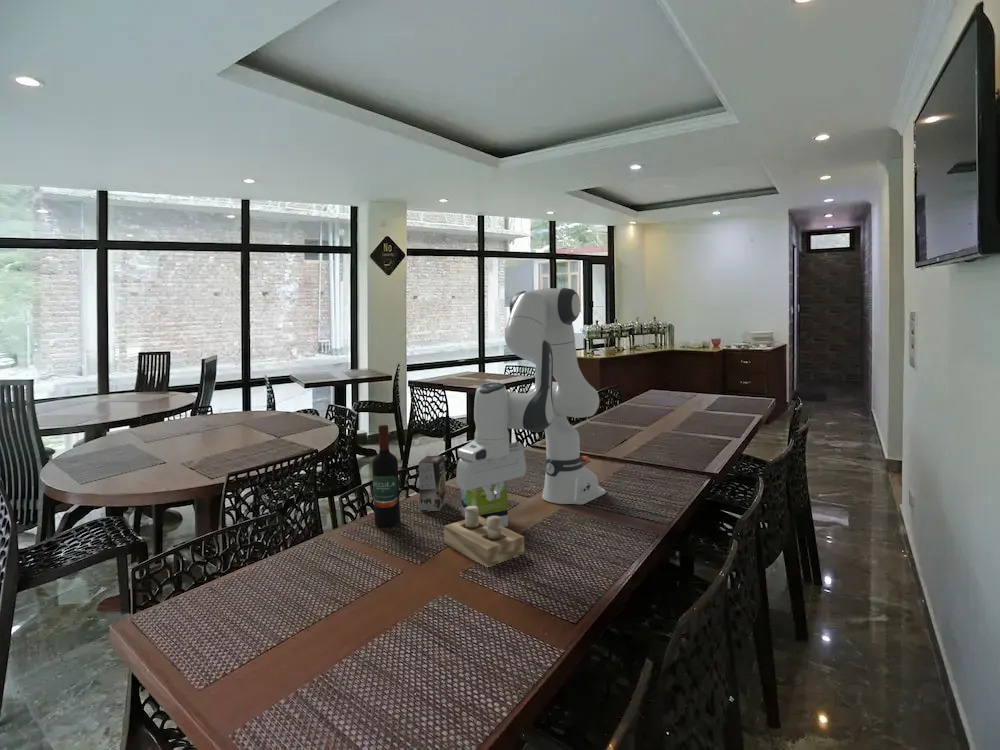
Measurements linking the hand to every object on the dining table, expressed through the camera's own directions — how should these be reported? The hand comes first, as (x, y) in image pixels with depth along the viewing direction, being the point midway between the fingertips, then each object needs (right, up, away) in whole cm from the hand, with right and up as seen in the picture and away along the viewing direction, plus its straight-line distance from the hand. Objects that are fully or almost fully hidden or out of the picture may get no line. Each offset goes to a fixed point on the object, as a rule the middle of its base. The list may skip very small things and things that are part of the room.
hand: (493, 499), depth 151 cm
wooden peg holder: (-3, -15, +6) cm, 16 cm away
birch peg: (0, -15, +2) cm, 15 cm away
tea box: (-3, -12, +26) cm, 29 cm away
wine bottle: (-32, -13, +26) cm, 43 cm away
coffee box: (-20, -11, +39) cm, 45 cm away
